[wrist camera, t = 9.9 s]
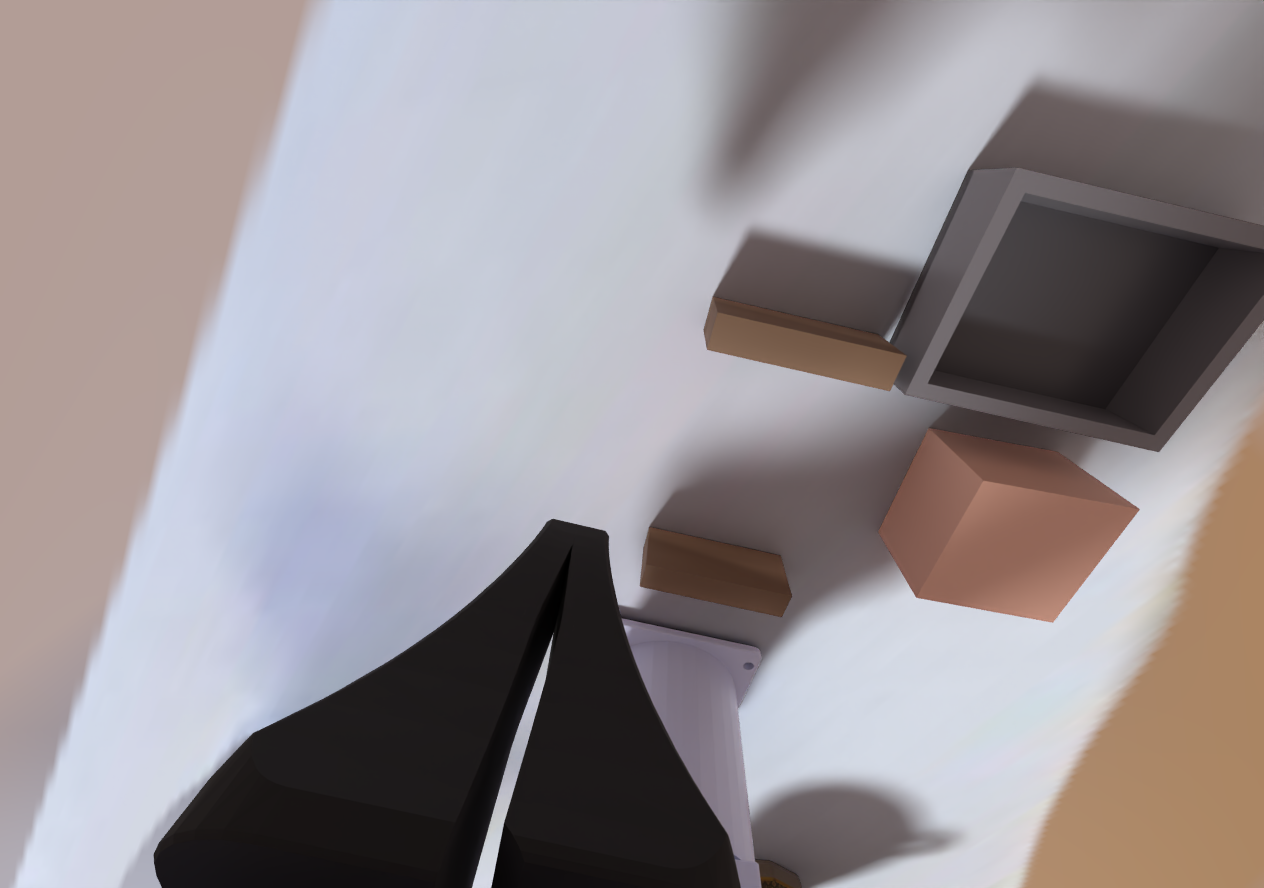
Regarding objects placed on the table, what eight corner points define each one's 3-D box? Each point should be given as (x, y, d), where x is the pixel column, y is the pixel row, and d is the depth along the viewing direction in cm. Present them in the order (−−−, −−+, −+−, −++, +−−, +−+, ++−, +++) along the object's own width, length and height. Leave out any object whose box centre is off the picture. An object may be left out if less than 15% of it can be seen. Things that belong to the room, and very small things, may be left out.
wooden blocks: (771, 575, 23) (781, 617, 21) (643, 547, 23) (639, 586, 21) (878, 334, 18) (906, 355, 16) (712, 296, 18) (717, 312, 15)
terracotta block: (991, 551, 22) (1052, 622, 18) (876, 530, 22) (916, 597, 18) (1055, 449, 19) (1140, 509, 16) (927, 426, 19) (983, 480, 16)
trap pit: (1101, 420, 19) (1158, 452, 16) (877, 369, 18) (904, 394, 16) (1234, 233, 16) (1326, 240, 13) (968, 170, 15) (1017, 167, 13)
